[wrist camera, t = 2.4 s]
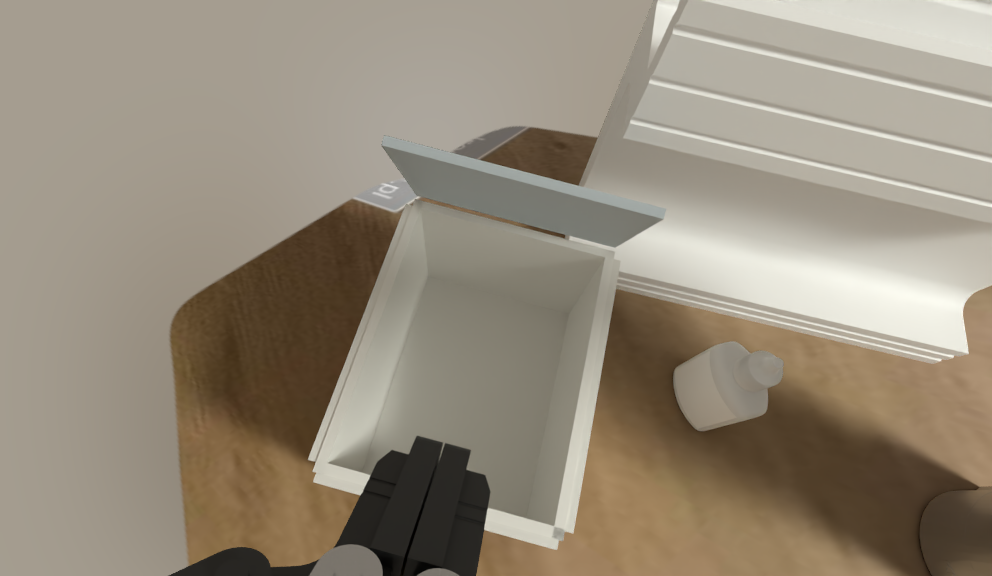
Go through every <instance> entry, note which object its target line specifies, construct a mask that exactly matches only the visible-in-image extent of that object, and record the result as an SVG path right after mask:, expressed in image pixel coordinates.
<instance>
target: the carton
mask: <svg viewBox="0 0 992 576" xmlns="http://www.w3.org/2000/svg"><path fill="white" fill-rule="evenodd" d="M614 255H615V252H614V251H610V250H606V249H602V248H599V247H595V246H591V245H587V244H583V243H580V242H576V241H572V240H568V239H565V238H561V237H557V236H553V235H549V234H546V233H542V232H538V231H534V230H530V229H527V228H523V227H519V226H515V225H512V224H508V223H504V222H500V221H496V220H493V219H489V218H485V217H481V216H477V215H474V214H470V213H466V212H462V211H458V210H455V209H451V208H447V207H443V206H440V205H436V204H432V203H428V202H424V201H421V200H417V199H415V201H414V203H413V206H411V205H408V204H406V205H405V208H404V210H403V213H402V215H401V218H400V221H399V223H398V226H397V228H396V231H395V234H394V236H393V239H392V241H391V244H390V247H389V249H388V252H387V254H386V257H385V260H384V262H383V265H382V267H381V270H380V273H379V275H378V278H377V281H376V283H375V286H374V288H373V291H372V294H371V296H370V299H369V301H368V304H367V307H366V309H365V312H364V314H363V317H362V320H361V322H360V325H359V327H358V330H357V333H356V335H355V338H354V340H353V343H352V346H351V348H350V351H349V354H348V356H347V359H346V361H345V364H344V367H343V369H342V372H341V374H340V377H339V380H338V382H337V385H336V387H335V390H334V393H333V395H332V398H331V400H330V403H329V406H328V408H327V411H326V413H325V416H324V419H323V421H322V424H321V426H320V429H319V432H318V434H317V437H316V440H315V442H314V445H313V447H312V450H311V453H310V455H309V458H308V460H311V461H314V462H316V463H315V466H314V469H313V472H316V475H315V478H314V481H313V482H315V483H318V484H322V485H325V486H329V487H332V488H336V489H340V490H343V491H347V492H350V493H354V494H358V495H361V494H362V493H363V490H364V488H365V486H366V484H367V482H368V480H369V478H370V475H371V473H372V471H373V469H374V467H375V465H376V463H377V461H378V460H380V459H381V458H382V457H383V456H385V455H386V454H387V453H389V452H390V451H391V450H394V451H398V452H402V453H405V454H409V453H410V450H411V448H412V445H413V443H414V441H415V438H416V436H421V437H425V438H428V439H432V440H436V441H440V442H443V446H442V450H441V454H442V451H443V448H444V445H445V443H447V444H451V445H455V446H459V447H462V448H466V449H470V450H471V453H470V457H469V461H468V465H467V469H466V470H469V471H472V472H476V473H480V474H483V475H486V479H487V482H488V485H489V488H490V498H489V504H488V509H487V515H486V521H485V527H484V530H487V531H490V532H494V533H497V534H501V535H504V536H508V537H512V538H515V539H519V540H522V541H526V542H530V543H533V544H537V545H540V546H544V547H547V548H551V549H555V550H557V548H558V542H559V540H560V541H563V538H564V532H565V531H566V532H570V533H573V532H574V527H575V521H576V515H577V509H578V504H579V498H580V492H581V486H582V481H583V475H584V469H585V463H586V458H587V452H588V446H589V440H590V435H591V429H592V423H593V417H594V412H595V406H596V400H597V395H598V389H599V383H600V377H601V372H602V366H603V360H604V354H605V349H606V343H607V337H608V331H609V326H610V320H611V314H612V308H613V303H614V297H615V291H616V285H617V280H618V274H619V268H620V262H621V261H619V260H616V259H614ZM440 457H441V455H440ZM439 460H440V459H439Z"/></svg>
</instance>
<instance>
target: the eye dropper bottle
mask: <svg viewBox="0 0 992 576" xmlns="http://www.w3.org/2000/svg"><path fill="white" fill-rule="evenodd" d="M783 366H784V363H783V361H782V359H780V358H777V357H775V356H774V355H773V354H771V353H769V352H767V351H756V352H754V353H751V354H750V353H749V352H748V351H747V350H746V349H745V348H744V347H743V346H742V345H741V344H739V343H737V342H726V343H722V344H718V345H715V346H713V347H711V348H709V349H707V350H705V351H704V352H702V353H700V354H698V355H697V356H695V357H693V358H691V359H690V360H688V361H686V362H684V363H683V364H681V365H679V366H678V367H676V368H675V370H674V374H673V384H674V391H675V396H676V399H677V402H678V404H679V407H680V409H681V411H682V412H683V414H684V416H685V417H686V419H687V420H688V422H689V423H690V424H691V425H692V426H693V427H694V428H695V429H696V430H698V431H707V430H711V429H715V428H718V427H722V426H726V425H730V424H734V423H738V422H741V421H745V420H749V419H752V418H756V417H759V416H761V415H763V414H764V413H765V412H766V410H767V407H768V389H767V388H770V387H772V386H775V385H777V384H778V383H779V382H780V381H781V379H782V377H783V368H782V367H783Z"/></svg>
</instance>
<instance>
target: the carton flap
mask: <svg viewBox="0 0 992 576" xmlns="http://www.w3.org/2000/svg"><path fill="white" fill-rule="evenodd" d="M382 147H383V148H384V150H385V151H386V153H387V154H388V155H389V157H390V158H391V160H392V161H393V162H394V164H395V165H396V167H397V168H398V170H399V171H400V172H401V174H402V175H403V177H404V178H405V180H406V181H407V182H408V184H409V185H410V187H411V188H412V189H413V191H414V192H415V194H416V195H417V196H420V197H424V198H428V199H432V200H435V201H439V202H443V203H447V204H451V205H454V206H458V207H462V208H466V209H470V210H473V211H477V212H481V213H485V214H488V215H492V216H496V217H500V218H504V219H507V220H511V221H515V222H519V223H523V224H526V225H530V226H534V227H538V228H542V229H545V230H549V231H553V232H557V233H560V234H564V235H568V236H572V237H576V238H579V239H583V240H587V241H591V242H595V243H598V244H602V245H606V246H610V247H614V248H616V247H617V246H619V245H621V244H622V243H624V242H626V241H628V240H629V239H631V238H633V237H634V236H636V235H638V234H639V233H641V232H643V231H644V230H646V229H648V228H650V227H651V226H653V225H655V224H656V223H658V222H660V221H661V220H663V219H664V216H665V212H666V209H665V208H661V207H657V206H654V205H650V204H646V203H642V202H638V201H635V200H631V199H627V198H623V197H619V196H615V195H612V194H608V193H604V192H600V191H596V190H592V189H589V188H585V187H581V186H577V185H573V184H569V183H566V182H562V181H558V180H554V179H550V178H546V177H543V176H539V175H535V174H531V173H527V172H524V171H520V170H516V169H512V168H508V167H504V166H501V165H497V164H493V163H489V162H485V161H481V160H478V159H474V158H470V157H466V156H462V155H458V154H455V153H451V152H446V151H443V150H439V149H435V148H432V147H428V146H424V145H420V144H416V143H412V142H409V141H405V140H401V139H397V138H393V137H390V136H385V135H384V138H383V141H382Z"/></svg>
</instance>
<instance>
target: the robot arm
mask: <svg viewBox="0 0 992 576" xmlns="http://www.w3.org/2000/svg"><path fill="white" fill-rule="evenodd" d="M442 446H443V442H440V441H436V440H432V439H428V438H425V437H421V436H416V438H415V441H414V443H413V445H412V448H411V450H410V453H409V454H405V453H402V452H398V451H394V450H391V451H390V452H389V453H387V454H386V455H385V456H383V457H382V458H381V459H380V460H378V461H377V463H376V465H375V467H374V469H373V471H372V473H371V475H370V478H369V480H368V482H367V484H366V486H365V488H364V490H363V493H362V494H361V496H360V498H359V500H358V502H357V504H356V506H355V508H354V510H353V512H352V514H351V516H350V518H349V520H348V522H347V524H346V526H345V528H344V530H343V532H342V534H341V536H340V538H339V540H338V542H337V544H336V545H335V547H334V548H333V549H331V550H329V551H328V552H327V553H325V554H324V555H323V556H322V557H321V558H320V559H319V560H317V561H315V562H312V563H310V564H306V565H302V566H290V567H270V563H269V561H268V559H267V558H266V557H265V556H264V555H263V554H262V553H261V552H259V551H257V550H255V549H252V548H246V547H237V548H231V549H227V550H224V551H221V552H219V553H216V554H214V555H212V556H210V557H208V558H206V559H204V560H201V561H199V562H197V563H195V564H193V565H191V566H188V567H186V568H185V569H182V570H180V571H178V572H176V573H173V574H171V575H169V576H476V573H477V567H478V561H479V555H480V550H481V544H482V538H483V532H484V527H485V521H486V515H487V509H488V504H489V498H490V488H489V485H488V482H487V479H486V475H483V474H480V473H476V472H472V471H469V470H466V469H467V465H468V461H469V457H470V453H471V450H470V449H466V448H462V447H459V446H455V445H451V444H447V443H445V445H444V448H443V451H442V454H441V450H442ZM440 455H441V457H440ZM439 459H440V460H439ZM920 543H921V549H922V553H923V556H924V559H925V562H926V564H927V567H928V569H929V571H930V573H931V575H932V576H992V486H988V487H979V488H978V489H977V490H959V491H949V492H945V493H943V494H940V495H938V496H936V497H935V498H934V499H933V500H932V501H930V502H929V504H928V506H927V507H926V509H925V510H924V512H923V516H922V519H921V522H920Z"/></svg>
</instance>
